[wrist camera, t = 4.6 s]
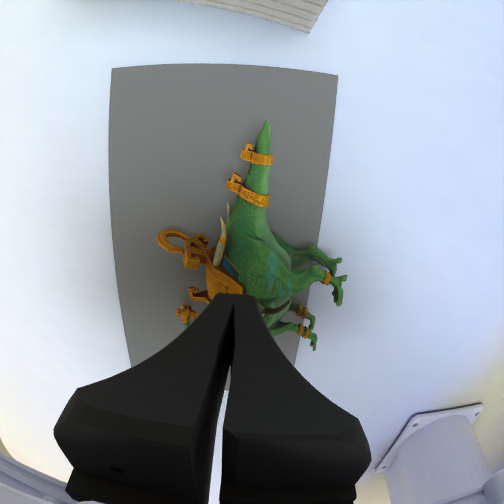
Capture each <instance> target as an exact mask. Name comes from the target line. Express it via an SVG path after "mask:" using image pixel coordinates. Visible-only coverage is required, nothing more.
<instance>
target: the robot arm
mask: <svg viewBox="0 0 504 504" xmlns="http://www.w3.org/2000/svg"><path fill="white" fill-rule="evenodd" d="M230 364H231V371H230V376H231V380H230V387H229V393H228V400H227V406H226V412H225V418H224V424H223V439H222V477H221V486H220V496H219V501H220V504H353V501H354V500H355V499H356V496H357V495H356V489H355V484H356V483H357V481H358V480H359V479H360V477H361V476H362V475H363V474H364V472H365V471H366V470H367V468H368V467H369V465H370V463H371V452H370V447H369V444H368V440H367V438H366V436H365V433H364V431H363V428H362V426H361V424H360V422H359V419H358V418H356V417H354V416H353V415H351V414H350V413H348V412H347V411H345V410H343V409H342V408H340V407H339V406H337V405H336V404H334V403H333V402H331V401H330V400H329V399H328V398H326V397H325V396H324V395H322V394H321V393H320V392H319V391H318V390H316V389H315V388H314V387H313V386H312V385H311V384H310V383H309V382H308V381H307V380H306V379H305V378H304V377H303V376H302V375H301V374H300V373H299V372H298V371H297V370H296V368H295V367H294V366H293V365H292V364H291V362H290V361H289V360H288V359H287V357H286V356H285V355H284V353H283V352H282V350H281V349H280V348H279V346H278V344H277V343H276V341H275V340H274V338H273V336H272V335H271V333H270V331H269V329H268V327H267V325H266V323H265V321H264V319H263V317H262V314H261V312H260V309H259V307H258V303H257V299H256V298H255V296H252V295H240V294H229V293H217V294H216V295H215V296H214V297H213V299H212V300H211V302H210V303H209V304H208V305H207V307H206V308H205V309H204V310H203V311H202V313H201V314H200V315H199V316H198V317H197V318H196V319H195V320H194V321H193V322H192V323H191V324H190V325H189V326H188V327H187V328H186V329H185V330H184V331H183V332H182V333H181V334H180V335H179V336H178V337H176V338H175V339H174V340H173V341H172V342H170V343H169V344H168V345H167V346H165V347H164V348H163V349H161V350H160V351H158V352H157V353H156V354H154V355H152V356H151V357H149V358H148V359H146V360H144V361H143V362H141V363H139V364H138V365H136V366H134V367H132V368H130V369H128V370H126V371H124V372H121V373H119V374H117V375H114V376H112V377H110V378H107V379H104V380H101V381H99V382H96V383H93V384H90V385H87V386H83V387H80V388H77V390H76V391H75V393H74V394H73V395H72V397H71V398H70V399H69V401H68V403H67V404H66V406H65V408H64V410H63V412H62V414H61V415H60V417H59V419H58V421H57V423H56V425H55V427H54V437H55V439H56V441H57V443H58V445H59V447H60V449H61V450H62V452H63V453H64V455H65V456H66V457H67V459H68V460H69V462H70V463H71V465H72V466H73V467H74V469H73V471H72V473H71V476H70V478H69V481H68V483H65V482H63V481H60V480H58V479H55V478H53V477H51V476H48V475H46V474H44V473H41V472H39V471H37V470H35V469H33V468H30V467H28V466H26V465H24V464H22V463H20V462H18V461H16V460H14V459H12V458H10V457H8V456H7V455H5V454H3V453H1V452H0V504H208V501H209V491H210V481H211V472H212V462H213V454H214V445H215V436H216V428H217V421H218V416H219V411H220V407H221V403H222V398H223V394H224V390H225V386H226V381H227V377H228V373H229V368H230ZM483 409H484V406H483V404H478V405H473V406H468V407H463V408H457V409H452V410H446V411H439V412H433V413H426V414H418V415H415V416H414V417H412V418H411V420H410V422H409V423H408V425H407V426H406V428H405V429H404V431H403V432H402V434H401V435H400V437H399V438H398V440H397V441H396V442H395V444H394V445H393V447H392V448H391V449H390V451H389V452H388V454H387V455H386V456H385V458H384V459H383V460H382V462H381V463H380V464H379V466H378V467H377V468H376V470H375V473H376V474H383V473H384V475H385V479H386V483H387V488H388V492H389V496H390V501H391V504H504V469H502V470H500V471H498V472H497V473H495V474H494V475H493V474H492V471H491V469H490V467H489V464H488V462H487V460H486V457H485V455H484V453H483V451H482V449H481V446H480V444H479V442H478V440H477V438H476V436H475V433H474V431H473V429H472V427H471V425H472V424H473V423H474V421H475V420H476V419H477V417H478V416H479V415H480V413H481V412H482V410H483Z"/></svg>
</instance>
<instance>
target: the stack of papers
mask: <svg viewBox="0 0 504 504" xmlns="http://www.w3.org/2000/svg"><path fill="white" fill-rule="evenodd" d="M177 1H183V2H190V3H196V4H201V5H207V6H212V7H217V8H222V9H226V10H231V11H235V12H239V13H243V14H247V15H251V16H255V17H259V18H262V19H266V20H269V21H273V22H276V23H279V24H282V25H286V26H289V27H292V28H295V29H298V30H301V31H304V32H306V33H310V31H311V29H312V27H313V26H314V24H315V22H316V20H317V19H318V17H319V15H320V13H321V12H322V10H323V8H324V6H325V5H326V3H327V1H328V0H177Z"/></svg>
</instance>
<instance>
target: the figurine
mask: <svg viewBox="0 0 504 504" xmlns="http://www.w3.org/2000/svg"><path fill="white" fill-rule="evenodd" d="M270 139H271V126H270V125H269V124H268V122H267V121H266V120H265V122H264V124H263V126H262V129H261V131H260V133H259V135H258V137H257V139H256V144H255V149H254V150H250V149H252V147H253V144H251V143H246V147H245V149H243V150H242V152H241V156H240V157H241V158H242V159H243V160H247V161H251V164H250V167H249V170H248V172H247V175H246V177H245V180H244V182H243V183H241V182H238V181H240V180H241V177H242V176H241V175H239V174H237V173H236V172H234V174H233V176H232V179H228V181H227V183H226V185H225V187H226V188H227V189H228V190H231V191H234V192H236V193H238V195H237V198H236V202H235V206H234V209H233V211H232V210H231V208H230V206H229V204H228V202H227V210H228V214H227V220H226V223H224V221H223V219H222V218H221V216H220V219H221V225H222V231H221V233H220V236H219V239H218V242H217V245H216V247H210V248H209V247H208V246H207V244H208V241H209V239H207V238H206V237H205V236H204V235H202V234H201V233H200V234H198V235H194V236H192V237H190V238H189V237H188V236H186V235H185V234H184V233H182V232H181V231H178V230H175V229H165V230H163V231H161V232H159V233H158V234H157V237H156V238H157V241H158V243H159V245H160V246H161V247H162V248H163V249H164V250H166V251H169V252H172V253H179V254H183V262H184V266H185V268H191V269H197V267H198V264H199V263H201V264H205V266H206V284H207V290H203V291H200V292H199V289H198V287H196V286H190V287H188V291H189V294H190V298H191V300H194V301H203V302H207V304H209V303H210V302H211V300H212V299H213V297H214V296H215V295H216V294H217V293H229V294H240V295H252V296H255V298H256V299H257V303H258V307H259V309H260V312H261V314H262V317H263V319H264V321H265V323H266V325H267V327H268V329H269V331H270V333H271V335H272V336H277V335H279V334H281V333H283V332H285V331H294V332H296V333H297V335H298V336H302V338H305V339H306V338H309V339H311V340H312V341H311V343H310V346H312V347H313V351H315V350H316V341H317V335H316V334H315V333H312V332H311V331H312V330H313V328H314V324H315V316H312V315H311V314H310V313H309V312H308V310H307V308H306V307H305V308H303V306H302V305H301V304H300V303H299V304H296V303H294V302H293V301H292V296H294V295H297V294H300V293H302V292H303V291H304V290H305V289H306V288H307V287H308V286H310V285H311V284H312V283H313V282H315V281H321V283H322V284H325V285H328V284H331V285H332V286H333V287H334V291H333V292H332V295H333V296H334V303H335V302H336V305H337V306H340V305H341V304H342V297H343V290H342V287H341V282H342V281H346V279H347V275H343V276H340V277H335V273H336V270H337V267H336V263H340V262H342V258H337V259H331V258H329V257H327V256H326V255H324V254H323V253H322V252H321V251H320V250H319V249H318V248H316V247H315V246H314V245H312V246H310V247H308V248H306V249H303V250H296V249H295V248H293V247H291V246H290V245H288V244H287V243H286V242H285V241H284V240H283V239H282V238H280V237H279V236H278V235H277V234H275V233H273V232H272V231H270V228H269V225H268V222H267V207H268V205H269V201H270V193H269V173H270V166H271V165H272V164H273V157H272V154H271V152H270ZM248 147H250V149H248ZM235 179H238V181H236V180H235ZM168 237H176V238H179V239H181V240H183V241H185V247H184V248H182V247H179V246H176V245H173V244H172V243H170V242H169V241H168V240H167V238H168ZM309 260H314V261H316V262H317V263H319V264H320V265H322V266H324V267H326V268H327V269H328V270H329V271H330V272H329V273H328V272H327V271H326V270H325V271H324V270H323V269H322V268H321V267H320V266H319V265H318V264H315V265H312V266H310V267H308V268H306V269H302V270H298V269H300V268H301V267H302V266H303V265H304V264H305V263H306V262H308V261H309ZM194 292H195V293H194ZM181 308H182V310H181V311H180V309H179V308H176V316H179V317H181V322H182V323H183V324H184V326H185V328H187V327H188V326H189V325H190V320H191V319H190V316H193V317H192V319H194V320H195V319H196V318H197V317H198V312H196V311H194V310H192V308H191V306H190V305H186V304H185V303H184V304H182V305H181ZM288 311H293V312H295V313H296V316H301V318H302V319H304V318H306V319H309V320H310V325H309V329H308V328H307V327H306V326H305V327H304V326H303V325H302V324H300V323H299V324H298V325H297V324H295V323H293V322H286V323H285V322H282V321H280V320H281V319H282V318H283V317H284V315H285V314H286V312H288Z"/></svg>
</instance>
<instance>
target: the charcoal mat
mask: <svg viewBox="0 0 504 504" xmlns="http://www.w3.org/2000/svg"><path fill="white" fill-rule="evenodd" d="M337 83H338V75H332V74H325V73H319V72H312V71H305V70H297V69H288V68H279V67H268V66H255V65H238V64H162V65H145V66H132V67H121V68H112V73H111V87H110V106H109V193H110V212H111V227H112V239H113V250H114V260H115V269H116V277H117V285H118V293H119V300H120V306H121V313H122V319H123V325H124V331H125V337H126V342H127V347H128V352H129V357H130V362H131V367H134V366H136V365H138V364H139V363H141V362H143V361H144V360H146V359H148V358H149V357H151V356H152V355H154V354H156V353H157V352H158V351H160V350H161V349H163V348H164V347H165V346H167V345H168V344H169V343H170V342H172V341H173V340H174V339H175V338H176V337H178V336H179V335H180V334H181V333H182V332H183V331H184V330H185V329H186V328H185V326H184V324H183V323H182V322H181V317H179V316H176V308H179V309H180V311H181V310H182V308H181V305H182V304H184V303H185V304H186V305H190V306H191V308H192V310H194V311H196V312H198V316H199V315H200V314H201V313H202V311H203V310H204V309H205V308H206V307H207V305H208V304H207V302H203V301H194V300H191V298H190V294H189V291H188V287H190V286H196V287H198V289H199V292H200V291H203V290H207V284H206V266H205V264H201V263H199V264H198V267H197V269H191V268H185V266H184V262H183V254H179V253H172V252H169V251H166V250H164V249H163V248H162V247H161V246H160V245H159V243H158V241H157V238H156V237H157V234H158V233H159V232H161V231H163V230H165V229H175V230H178V231H181V232H182V233H184V234H185V235H186V236H188V237H189V238H190V237H192V236H194V235H198V234H200V233H201V234H202V235H204V236H205V237H206V238H207V239H209V241H208V244H207V246H208V247H209V248H210V247H216V245H217V242H218V239H219V236H220V233H221V231H222V225H221V219H220V216H221V218H222V219H223V221H224V223H226V220H227V214H228V210H227V202H228V204H229V206H230V208H231V210H232V211H233V209H234V206H235V202H236V198H237V195H238V193H236V192H234V191H231V190H228V189H227V188H226V187H225V185H226V183H227V181H228V179H232V176H233V174H234V172H236V173H237V174H239V175H241V176H242V177H241V180H240V181H238V179H235V180H236V181H238V182H241V183H243V182H244V180H245V177H246V175H247V172H248V170H249V167H250V164H251V161H247V160H243V159H242V158H241V157H240V156H241V152H242V150H243V149H245V147H246V143H251V144H253V147H252V149H250V147H248V149H250V150H254V149H255V144H256V139H257V137H258V135H259V133H260V131H261V129H262V126H263V124H264V122H265V120H266V121H267V122H268V124H269V125H270V126H271V139H270V152H271V154H272V157H273V164H272V165H271V166H270V173H269V193H270V201H269V205H268V207H267V222H268V225H269V228H270V231H272V232H273V233H275V234H277V235H278V236H279V237H280V238H282V239H283V240H284V241H285V242H286V243H287V244H288V245H290V246H291V247H293V248H295V249H296V250H303V249H306V248H308V247H310V246H312V245H314V246H315V247H316V248H317V243H318V236H319V230H320V224H321V217H322V210H323V204H324V197H325V189H326V182H327V175H328V167H329V159H330V151H331V142H332V133H333V124H334V115H335V105H336V94H337ZM167 240H168V241H169V242H170V243H172V244H173V245H176V246H179V247H182V248H184V247H185V241H183V240H181V239H179V238H176V237H168V238H167ZM312 265H314V260H309V261H308V262H306V263H305V264H304V265H303V266H302V267H301V268H300V269H298V270H302V269H306V268H308V267H310V266H312ZM309 289H310V286H308V287H307V288H306V289H305V290H304V291H303V292H302V293H300V294H297V295H294V296H292V301H293V302H294V303H296V304H299V303H300V304H301V305H302V306H303V308H305V307H306V305H307V299H308V294H309ZM194 293H195V292H194ZM192 317H193V316H190V319H191V320H190V324H191V323H192V322H193V321H194V319H192ZM303 320H304V319H302V318H301V316H296V313H295V312H293V311H288V312H286V314H285V315H284V317H283V318H282V319H281V320H280V321H282V322H285V323H286V322H293V323H295V324H297V325H298V324H299V323H300V324H302V325H303ZM273 338H274V340H275V341H276V343H277V344H278V346H279V348H280V349H281V350H282V352H283V353H284V355H285V356H286V357H287V359H288V360H289V361H290V362H291V364H292V365H293V366H294V363H295V359H296V354H297V349H298V345H299V340H300V336H298V335H297V333H296V332H294V331H285V332H283V333H281V334H279V335H277V336H273ZM230 371H231V364H230V368H229V373H228V377H227V381H226V386H225V390H229V387H230V380H231V376H230Z"/></svg>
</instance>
